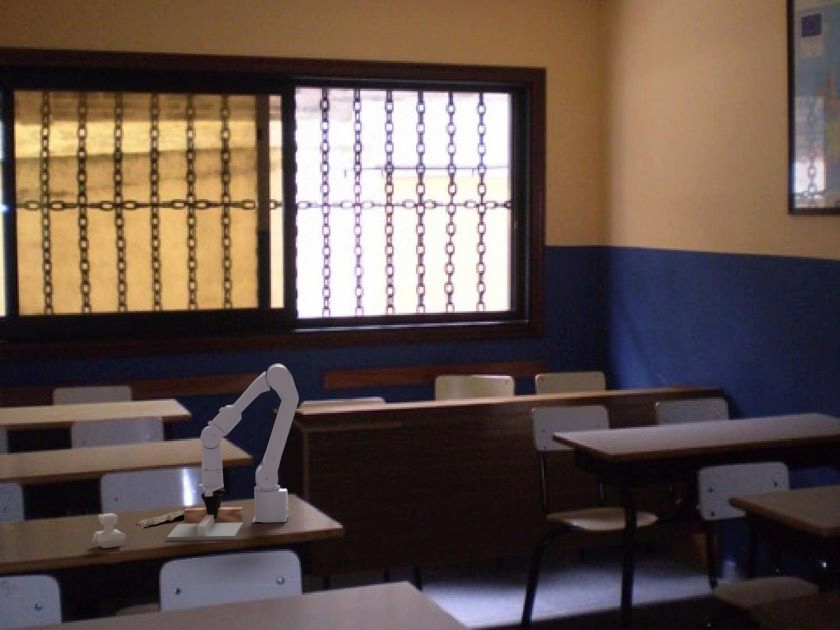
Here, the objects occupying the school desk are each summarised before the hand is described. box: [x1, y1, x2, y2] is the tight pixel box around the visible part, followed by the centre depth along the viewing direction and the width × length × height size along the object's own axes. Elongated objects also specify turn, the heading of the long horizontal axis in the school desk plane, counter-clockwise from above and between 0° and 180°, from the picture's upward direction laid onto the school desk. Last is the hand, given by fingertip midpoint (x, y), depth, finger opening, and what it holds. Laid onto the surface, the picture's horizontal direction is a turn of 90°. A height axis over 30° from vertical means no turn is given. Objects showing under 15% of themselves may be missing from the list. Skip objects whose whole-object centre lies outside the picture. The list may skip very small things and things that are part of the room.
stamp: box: [91, 512, 127, 549], centre depth 334 cm, size 9×7×8 cm
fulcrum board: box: [166, 515, 244, 542], centre depth 347 cm, size 18×16×4 cm
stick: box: [183, 506, 244, 524], centre depth 359 cm, size 16×3×4 cm, turn 90°
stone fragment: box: [138, 509, 185, 528], centre depth 364 cm, size 25×3×10 cm
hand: (213, 516), depth 360 cm, fingers closed on stick, 3 cm apart
